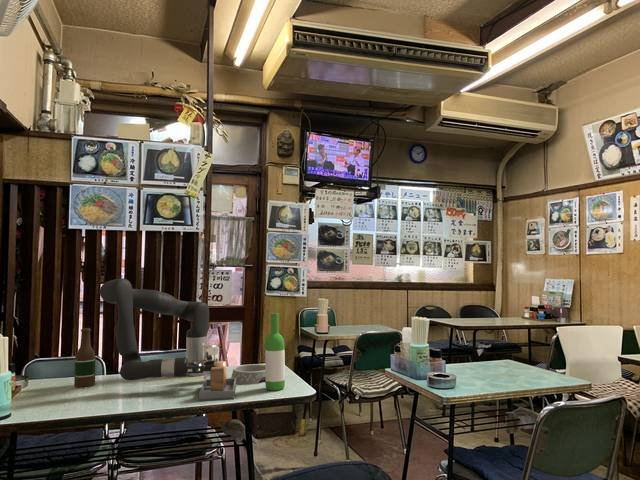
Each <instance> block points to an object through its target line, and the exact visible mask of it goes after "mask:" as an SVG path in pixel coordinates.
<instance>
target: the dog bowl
mask: <svg viewBox="0 0 640 480" xmlns="http://www.w3.org/2000/svg"><path fill="white" fill-rule="evenodd" d="M231 378H236V383H237V384H236V385H259V383H260V382H262V381H266V380H265V364H259V363H256V364H255V363H253V364H251V363H249V364H241V365H237V366H235V367H234V368H233V369H232V373H231Z"/></svg>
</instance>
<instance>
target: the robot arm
mask: <svg viewBox="0 0 640 480" xmlns="http://www.w3.org/2000/svg"><path fill="white" fill-rule="evenodd" d="M99 295H100V298H101V299H102V300H103V301H105V302H106V303H108V304H113V305H116V306H117V311H118V315H117V317H118V318H117V323H116V324H117V325H116V327H115V328H116V330H115V340H116V346H117V350H118V354H119V355H120V356H121V358H122V362H123V364H122V365H121V367H120V368H119V369H120V370H119V374H120V377H121V378H122V379H124V380H126V381H137V380H143V379H144V380H145V379H149V378H150V379H151V378H153V379H154V378H155V379H156V378H185V377H187V376H189V377H198V376H203V375H204V374H205V373H204V372H205V371H211V368H212V367H215V365H214V362H216V361H207V360H203V346H207V345H208V331H209V326H210V324H209V323H210V309H209V305H208V304H207V303H206V302H204V301H185V300H181V299H180V300H179V299H178V298H176V297H174V296H173V295H172V294H169V293H167V292H163V291H159V290H155V289H142V288H141V289H140V288H139V289H138V288H133V285H132V284H131V282H130V281H129V280H128V279H126V278H116V279H112V280H108V281H105V282H104V283H103V284H102V285H101V286H100V287H99ZM134 308H136V309H140V310H143V311H147V312H151V313H155V314H158V315H164V316H165V315H166V316H173V317H174V316H175V317H178V318H180V319H183V320H184V321H185V320H186V321H187V322H192V327H191V328H190V329H187V331H186V334H185V335H186V339H185V340H186V343H185V344H186V347H185V348H186V349H185V351H186V353H185V354H186V356H184V357H167V358H155V359H150V360H147V361H146V360H145V361H143V360H142V357H141V355H140V352H139V348H138V344H137V338H136V334H135V333H136V332H135V325H134ZM203 363H204V365H203Z"/></svg>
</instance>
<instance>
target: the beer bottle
mask: <svg viewBox="0 0 640 480" xmlns="http://www.w3.org/2000/svg"><path fill="white" fill-rule="evenodd" d="M80 332H81V335H80V345H79V348H78V350H77V351H76V353H75V356H74V377H73V379H74V381H73V382H74V388H76V387H77V388H76V389H85V387H87V388H90V387H91V386H92V387H94V386H95V384H96V353H95V350H94V349H93V347H92V344H91V332H92V329H91V328H90V327H86V328H85V327H83V328H81V329H80ZM93 385H94V386H93Z"/></svg>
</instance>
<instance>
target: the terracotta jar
mask: <svg viewBox="0 0 640 480" xmlns="http://www.w3.org/2000/svg"><path fill="white" fill-rule="evenodd" d="M214 365H215V367H224V388H226V379H227V361H226V360H219V361H216V362H214Z"/></svg>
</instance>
